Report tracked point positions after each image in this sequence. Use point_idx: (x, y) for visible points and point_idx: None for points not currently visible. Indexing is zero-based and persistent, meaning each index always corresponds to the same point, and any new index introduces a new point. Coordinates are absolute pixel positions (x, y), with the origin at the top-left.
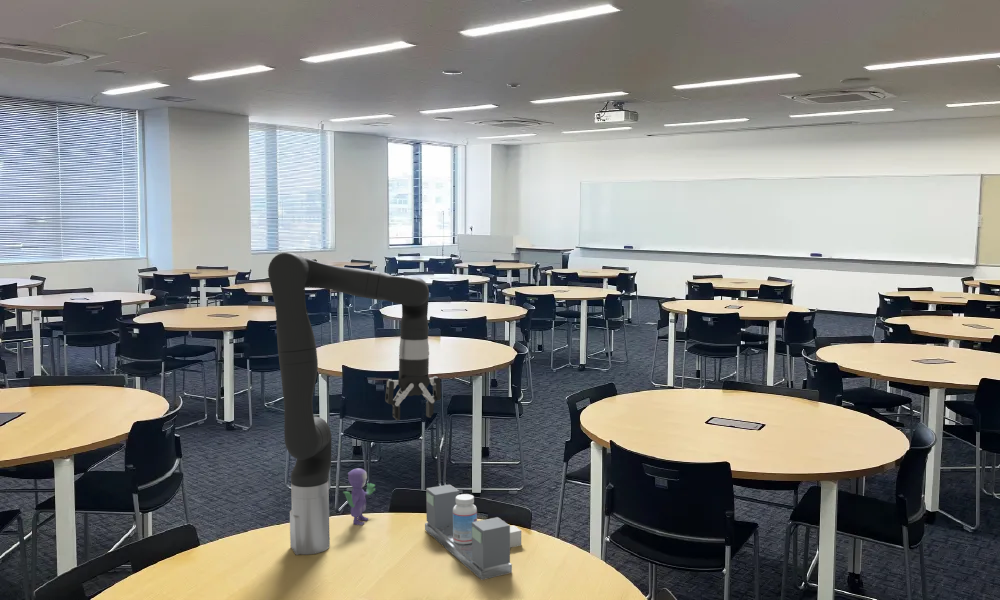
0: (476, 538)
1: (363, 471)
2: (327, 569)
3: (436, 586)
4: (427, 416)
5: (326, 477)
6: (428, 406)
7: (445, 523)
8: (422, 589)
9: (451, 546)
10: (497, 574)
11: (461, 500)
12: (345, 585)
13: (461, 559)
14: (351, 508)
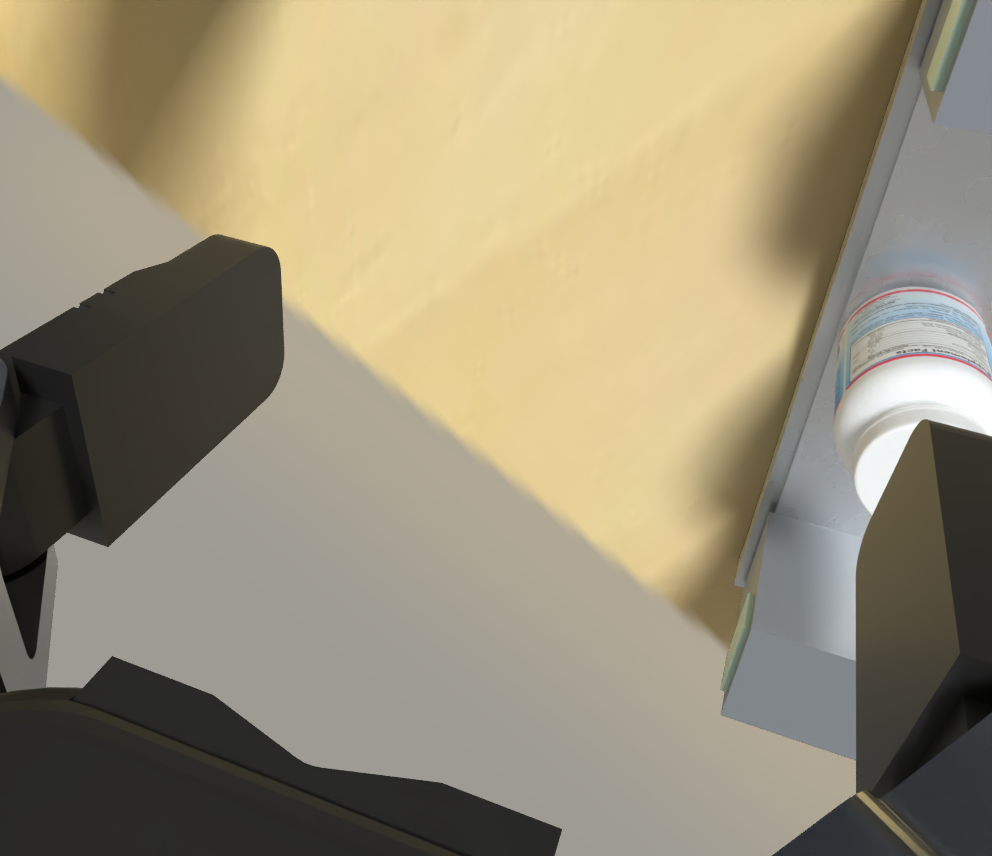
0: (736, 631)
1: None
2: (276, 82)
3: (574, 488)
4: (891, 482)
5: None
6: (875, 707)
7: None
8: (522, 471)
9: (820, 323)
10: None
11: (860, 501)
12: (306, 268)
13: (787, 417)
14: None
